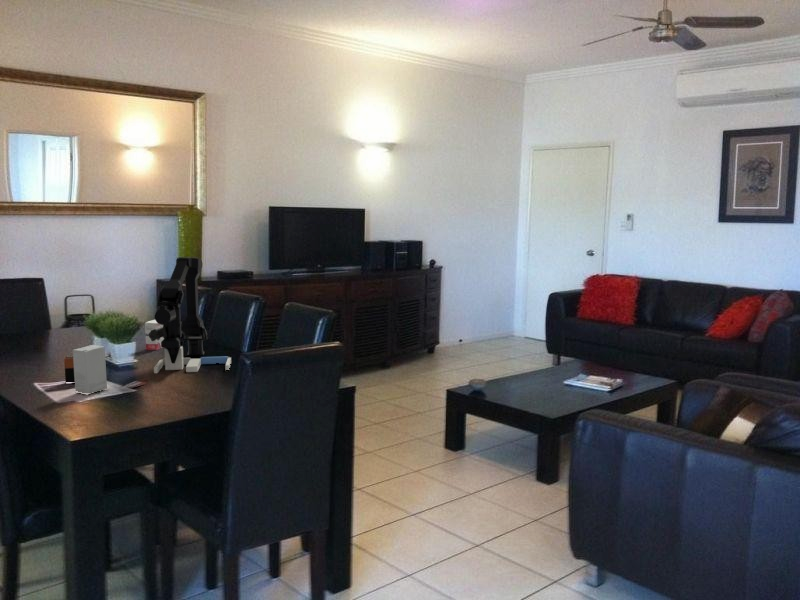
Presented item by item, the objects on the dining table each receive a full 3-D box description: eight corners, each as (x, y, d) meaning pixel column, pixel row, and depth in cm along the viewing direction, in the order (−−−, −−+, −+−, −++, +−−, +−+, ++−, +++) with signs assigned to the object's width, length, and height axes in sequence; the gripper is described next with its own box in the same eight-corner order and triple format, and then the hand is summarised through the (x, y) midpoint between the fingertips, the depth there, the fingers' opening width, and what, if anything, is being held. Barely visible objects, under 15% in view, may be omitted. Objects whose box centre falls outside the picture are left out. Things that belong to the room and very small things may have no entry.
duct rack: (160, 364, 276) (159, 358, 276) (231, 362, 280) (231, 356, 280) (154, 373, 262) (153, 366, 262) (228, 370, 267) (228, 363, 266)
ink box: (156, 350, 303) (155, 322, 302) (145, 350, 304) (144, 322, 303) (166, 346, 312) (165, 319, 310) (155, 346, 313) (154, 319, 311)
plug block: (167, 367, 272) (166, 346, 270) (183, 367, 273) (182, 346, 271) (165, 370, 268) (164, 348, 267) (182, 369, 269) (181, 348, 268)
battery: (87, 383, 248) (85, 354, 246) (65, 385, 245) (63, 356, 244) (88, 380, 252) (86, 352, 250) (66, 382, 249) (64, 353, 248)
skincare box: (94, 388, 241) (92, 344, 239) (108, 390, 239) (105, 345, 237) (74, 394, 234) (71, 348, 232) (87, 396, 231) (85, 350, 229)
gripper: (154, 317, 275) (155, 357, 278) (145, 325, 257) (147, 368, 259) (184, 316, 277) (185, 356, 279) (177, 324, 259) (179, 367, 261)
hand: (174, 361), depth 270 cm, fingers open, 4 cm apart
